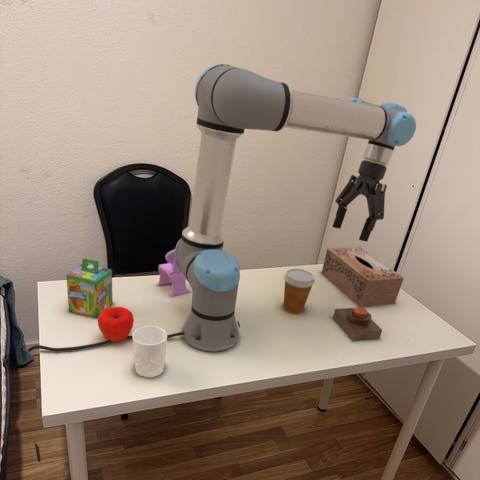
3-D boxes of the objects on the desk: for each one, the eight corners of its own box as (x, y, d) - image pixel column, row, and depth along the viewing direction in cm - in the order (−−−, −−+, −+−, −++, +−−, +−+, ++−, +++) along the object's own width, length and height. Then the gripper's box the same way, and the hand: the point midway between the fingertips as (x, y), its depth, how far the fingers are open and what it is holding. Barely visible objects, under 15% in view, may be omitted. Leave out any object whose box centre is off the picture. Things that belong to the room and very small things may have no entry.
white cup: (171, 363, 109) (172, 330, 103) (157, 382, 102) (158, 348, 97) (142, 355, 110) (142, 322, 105) (127, 374, 103) (126, 339, 98)
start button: (356, 319, 129) (358, 314, 128) (350, 312, 132) (351, 307, 131) (368, 318, 130) (370, 313, 129) (361, 311, 134) (363, 306, 133)
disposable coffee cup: (307, 303, 143) (314, 270, 137) (308, 318, 135) (316, 284, 129) (278, 299, 144) (284, 266, 137) (278, 313, 136) (284, 279, 129)
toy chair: (176, 279, 147) (178, 237, 139) (190, 291, 141) (193, 248, 133) (154, 285, 142) (155, 241, 134) (168, 297, 136) (170, 252, 128)
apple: (112, 352, 110) (111, 326, 106) (91, 336, 114) (89, 311, 110) (140, 339, 116) (140, 314, 112) (120, 325, 120) (119, 300, 116)
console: (352, 341, 127) (357, 326, 125) (332, 317, 138) (336, 303, 135) (379, 339, 130) (384, 325, 127) (357, 315, 140) (361, 302, 138)
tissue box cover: (394, 303, 151) (403, 277, 145) (360, 307, 145) (368, 280, 140) (353, 270, 170) (359, 246, 165) (321, 272, 165) (327, 248, 160)
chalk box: (68, 311, 123) (63, 264, 115) (85, 297, 130) (81, 251, 123) (98, 319, 121) (95, 271, 114) (114, 303, 129) (112, 258, 121)
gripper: (415, 173, 117) (385, 248, 125) (357, 159, 137) (335, 224, 145) (395, 166, 114) (365, 244, 122) (339, 153, 134) (317, 221, 142)
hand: (349, 234), depth 133 cm, fingers open, 13 cm apart
